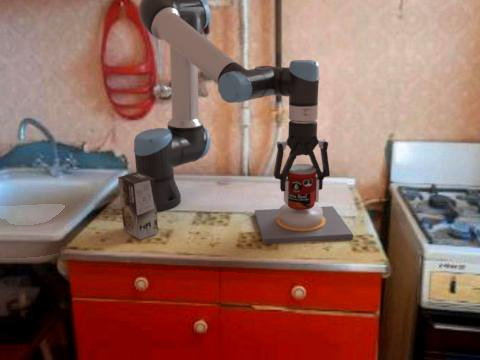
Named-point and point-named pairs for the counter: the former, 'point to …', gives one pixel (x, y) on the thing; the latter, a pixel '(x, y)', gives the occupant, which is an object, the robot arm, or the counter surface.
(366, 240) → the counter surface
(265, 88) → the robot arm
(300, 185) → the canned food
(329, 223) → the base
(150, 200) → the coffee box
